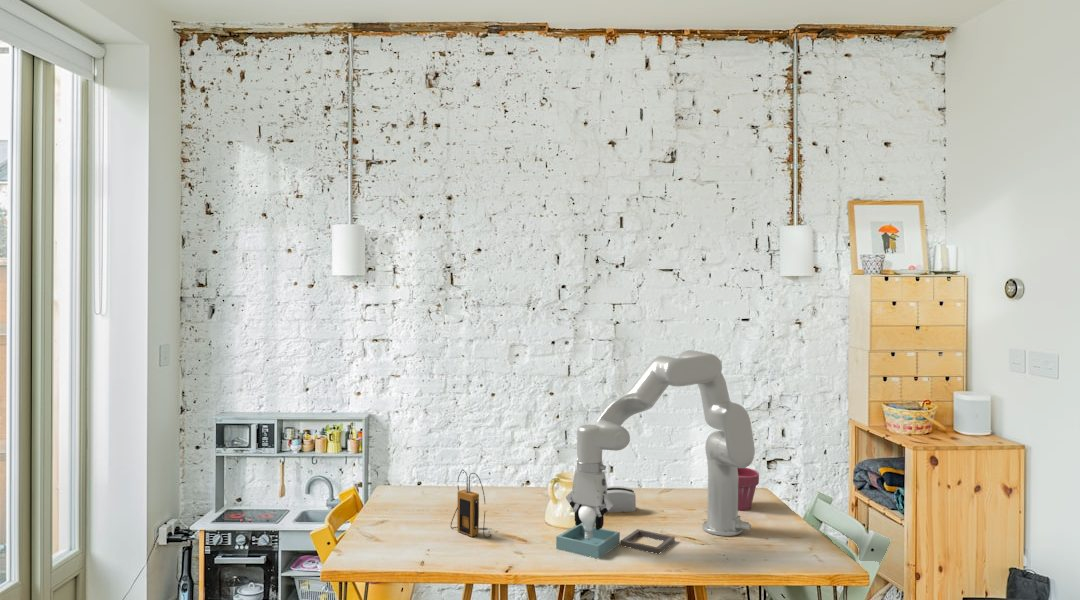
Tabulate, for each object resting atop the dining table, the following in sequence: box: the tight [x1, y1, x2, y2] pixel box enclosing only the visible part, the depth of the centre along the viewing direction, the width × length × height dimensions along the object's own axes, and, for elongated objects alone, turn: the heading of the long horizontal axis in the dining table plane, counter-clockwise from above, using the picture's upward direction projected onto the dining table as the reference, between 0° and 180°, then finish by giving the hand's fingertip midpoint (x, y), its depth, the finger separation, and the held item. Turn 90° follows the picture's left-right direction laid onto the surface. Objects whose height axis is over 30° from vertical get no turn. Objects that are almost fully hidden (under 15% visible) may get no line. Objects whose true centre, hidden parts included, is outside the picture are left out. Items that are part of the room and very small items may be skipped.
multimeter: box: [450, 469, 492, 538], centre depth 225 cm, size 15×10×20 cm
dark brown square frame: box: [619, 528, 676, 555], centre depth 215 cm, size 12×12×2 cm
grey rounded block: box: [603, 485, 637, 513], centre depth 246 cm, size 17×5×10 cm, turn 100°
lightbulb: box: [578, 505, 597, 540], centre depth 212 cm, size 6×6×11 cm
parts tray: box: [555, 523, 621, 559], centre depth 212 cm, size 14×14×4 cm
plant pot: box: [737, 467, 760, 511], centre depth 253 cm, size 14×14×13 cm
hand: (588, 525), depth 212 cm, fingers closed on lightbulb, 6 cm apart
